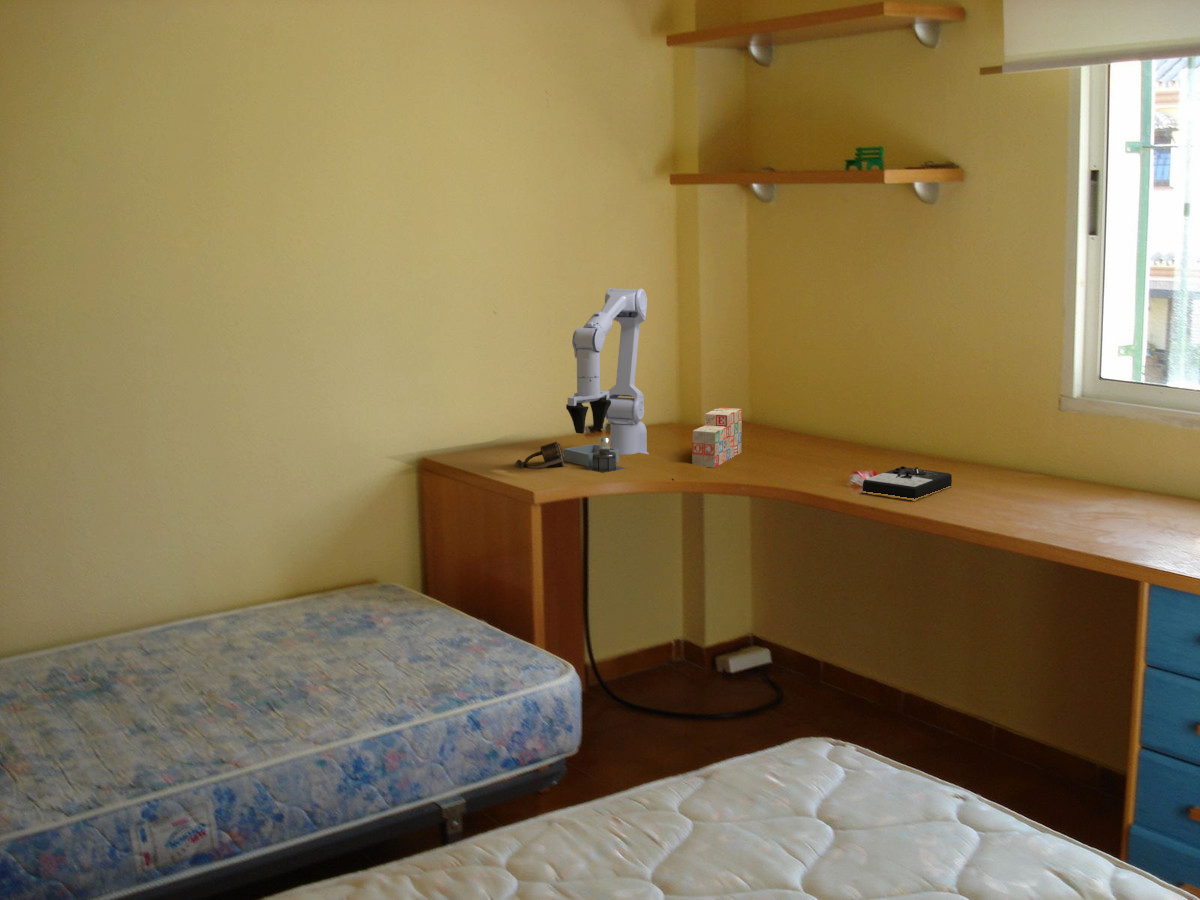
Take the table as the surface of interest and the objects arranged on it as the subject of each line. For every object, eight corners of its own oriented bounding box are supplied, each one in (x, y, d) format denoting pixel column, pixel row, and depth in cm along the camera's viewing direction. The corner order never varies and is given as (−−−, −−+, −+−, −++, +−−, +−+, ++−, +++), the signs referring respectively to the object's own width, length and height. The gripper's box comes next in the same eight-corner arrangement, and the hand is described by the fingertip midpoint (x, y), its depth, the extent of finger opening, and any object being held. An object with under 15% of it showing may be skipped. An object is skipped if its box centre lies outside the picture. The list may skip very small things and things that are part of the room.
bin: (594, 458, 323) (594, 443, 323) (619, 464, 316) (619, 449, 315) (563, 464, 317) (563, 448, 316) (588, 470, 309) (588, 454, 309)
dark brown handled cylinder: (562, 454, 303) (571, 438, 312) (512, 447, 305) (522, 432, 314) (561, 480, 306) (570, 463, 315) (512, 474, 308) (522, 457, 317)
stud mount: (606, 467, 312) (606, 453, 312) (627, 472, 306) (627, 458, 306) (582, 471, 307) (581, 457, 307) (602, 476, 301) (602, 462, 301)
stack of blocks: (714, 468, 311) (715, 420, 309) (691, 466, 314) (691, 418, 311) (741, 453, 330) (742, 407, 328) (719, 451, 333) (720, 406, 330)
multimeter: (952, 488, 287) (953, 467, 287) (914, 503, 273) (915, 481, 272) (900, 481, 296) (901, 460, 295) (861, 495, 281) (862, 474, 280)
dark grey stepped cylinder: (606, 464, 311) (605, 434, 309) (620, 468, 306) (620, 437, 305) (588, 467, 307) (587, 437, 306) (602, 471, 303) (602, 440, 301)
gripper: (593, 372, 311) (593, 425, 314) (557, 378, 300) (558, 433, 302) (615, 374, 307) (616, 427, 310) (580, 380, 296) (581, 436, 298)
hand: (589, 430), depth 306 cm, fingers open, 7 cm apart
